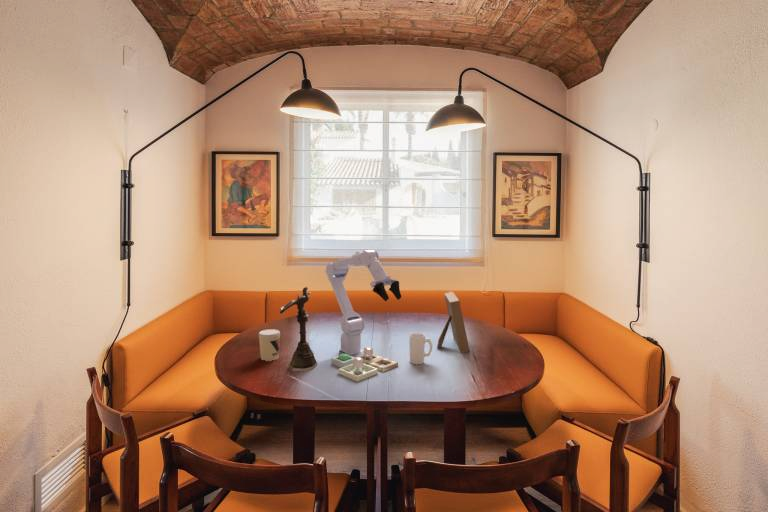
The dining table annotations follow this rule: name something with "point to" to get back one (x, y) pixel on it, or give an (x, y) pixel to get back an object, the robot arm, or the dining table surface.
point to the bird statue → (301, 337)
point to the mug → (418, 348)
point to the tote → (367, 372)
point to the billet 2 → (368, 353)
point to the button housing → (342, 363)
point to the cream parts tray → (377, 361)
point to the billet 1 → (357, 366)
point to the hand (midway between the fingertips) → (393, 299)
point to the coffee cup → (269, 344)
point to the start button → (344, 357)
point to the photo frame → (455, 323)
